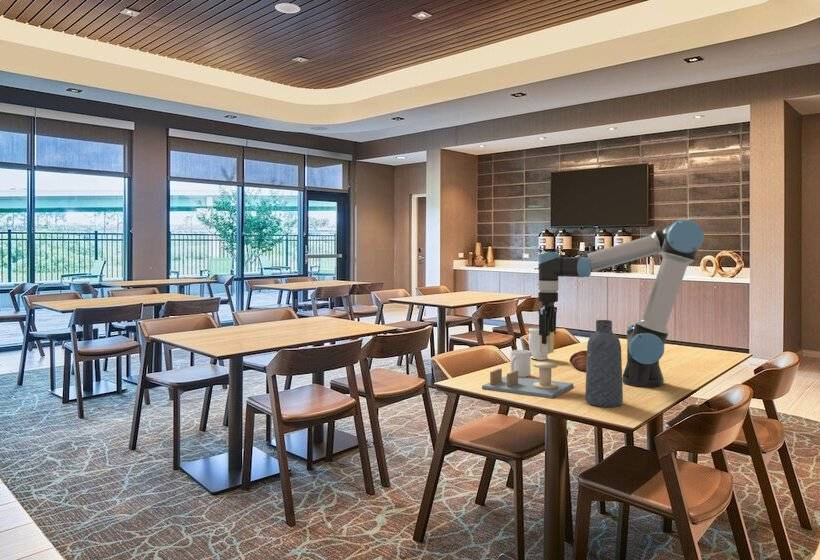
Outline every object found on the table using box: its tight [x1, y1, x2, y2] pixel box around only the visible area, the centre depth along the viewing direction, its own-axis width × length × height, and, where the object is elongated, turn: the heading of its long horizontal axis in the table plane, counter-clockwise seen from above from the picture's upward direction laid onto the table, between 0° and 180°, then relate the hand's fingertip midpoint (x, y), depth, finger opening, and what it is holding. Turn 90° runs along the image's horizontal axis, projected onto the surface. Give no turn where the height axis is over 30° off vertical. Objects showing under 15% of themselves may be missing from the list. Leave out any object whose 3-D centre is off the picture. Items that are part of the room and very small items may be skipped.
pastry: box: [569, 349, 587, 373], centre depth 260 cm, size 17×15×8 cm
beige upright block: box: [540, 331, 555, 354], centre depth 225 cm, size 4×4×8 cm
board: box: [481, 361, 574, 399], centre depth 222 cm, size 28×22×10 cm
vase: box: [584, 319, 624, 408], centre depth 197 cm, size 12×12×28 cm
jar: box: [528, 327, 549, 360], centre depth 283 cm, size 11×10×15 cm
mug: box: [509, 349, 531, 378], centre depth 243 cm, size 12×8×10 cm
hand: (547, 351), depth 225 cm, fingers closed on beige upright block, 4 cm apart
